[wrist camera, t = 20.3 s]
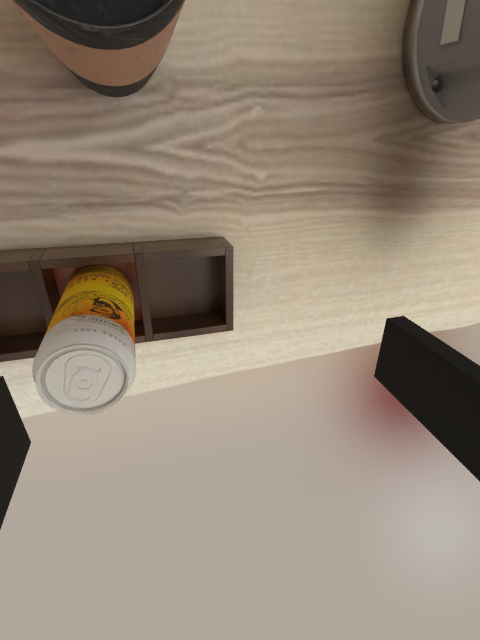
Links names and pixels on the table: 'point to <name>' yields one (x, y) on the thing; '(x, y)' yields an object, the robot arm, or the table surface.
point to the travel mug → (105, 38)
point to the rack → (144, 276)
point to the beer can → (88, 344)
